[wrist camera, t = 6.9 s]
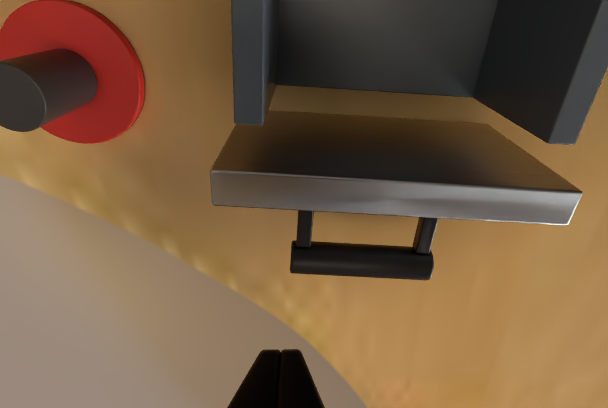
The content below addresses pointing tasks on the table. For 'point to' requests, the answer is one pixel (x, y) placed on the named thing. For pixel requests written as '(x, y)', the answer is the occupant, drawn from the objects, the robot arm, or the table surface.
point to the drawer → (407, 132)
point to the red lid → (67, 73)
